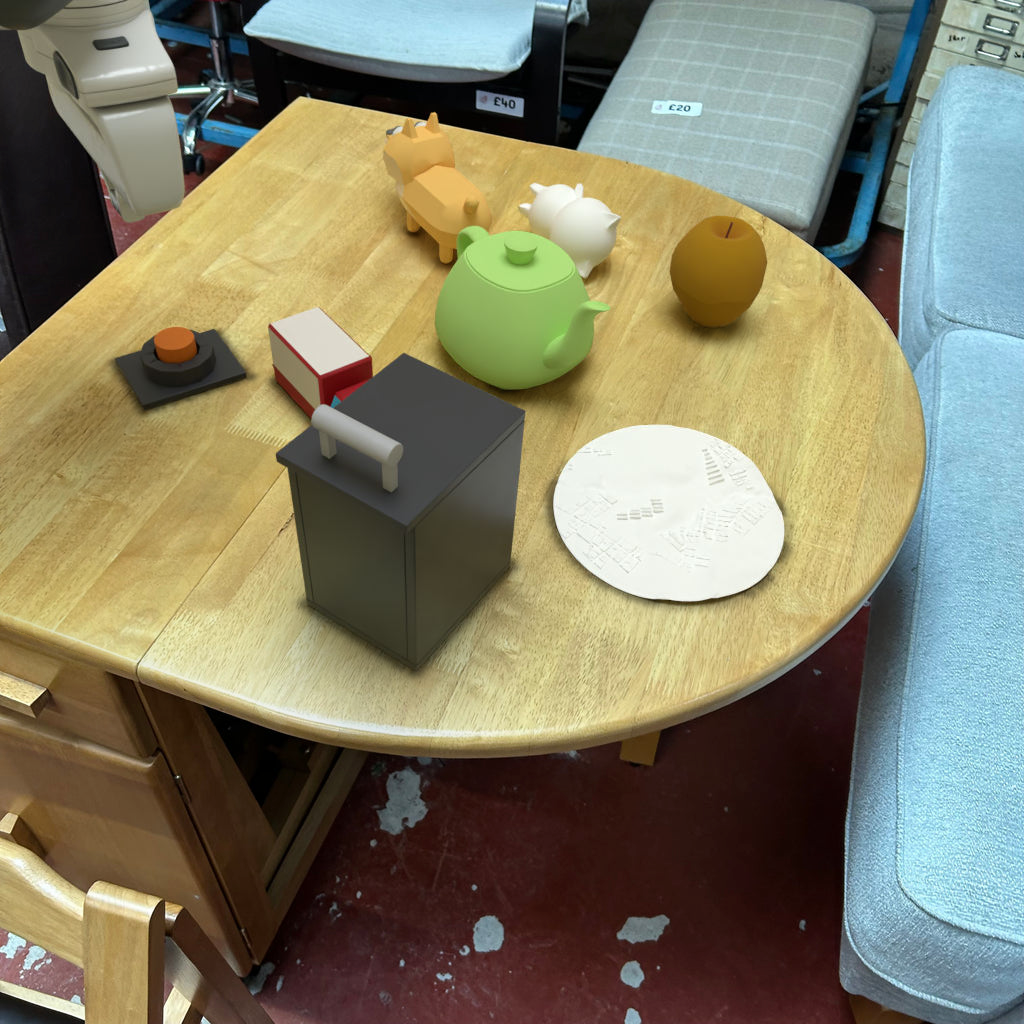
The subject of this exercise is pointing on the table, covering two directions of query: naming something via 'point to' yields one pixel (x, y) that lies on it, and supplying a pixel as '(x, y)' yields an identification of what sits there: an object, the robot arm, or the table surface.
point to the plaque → (668, 514)
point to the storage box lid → (401, 440)
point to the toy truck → (317, 360)
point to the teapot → (514, 309)
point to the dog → (433, 184)
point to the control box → (179, 371)
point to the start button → (175, 345)
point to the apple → (718, 270)
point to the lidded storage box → (409, 557)
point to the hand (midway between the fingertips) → (129, 213)
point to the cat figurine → (573, 223)
